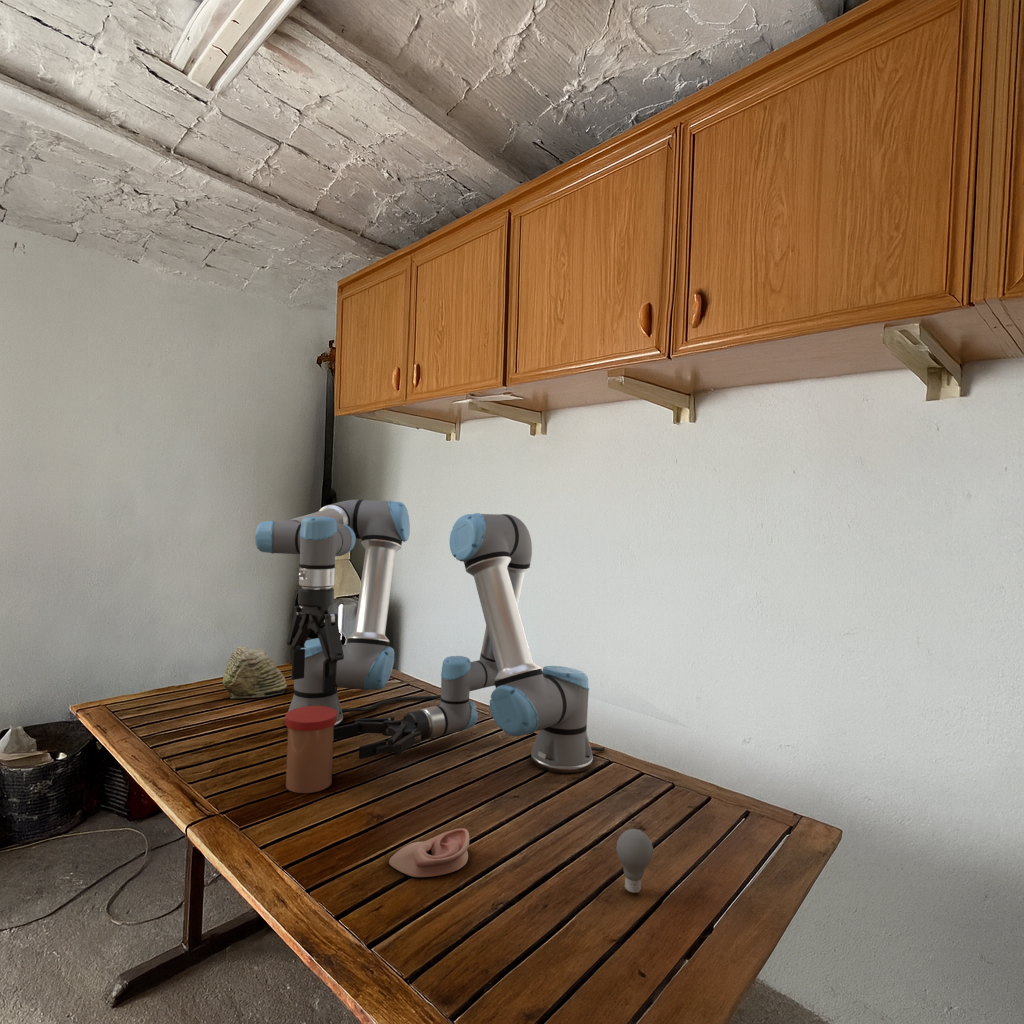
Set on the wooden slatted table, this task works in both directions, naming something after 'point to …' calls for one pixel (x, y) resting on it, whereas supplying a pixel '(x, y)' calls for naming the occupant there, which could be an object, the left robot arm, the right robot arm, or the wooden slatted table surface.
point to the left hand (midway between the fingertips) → (312, 684)
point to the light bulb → (634, 857)
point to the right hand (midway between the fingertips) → (345, 743)
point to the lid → (311, 718)
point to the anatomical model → (433, 855)
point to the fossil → (252, 674)
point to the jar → (309, 760)
